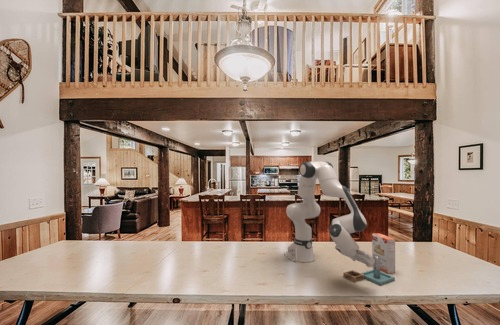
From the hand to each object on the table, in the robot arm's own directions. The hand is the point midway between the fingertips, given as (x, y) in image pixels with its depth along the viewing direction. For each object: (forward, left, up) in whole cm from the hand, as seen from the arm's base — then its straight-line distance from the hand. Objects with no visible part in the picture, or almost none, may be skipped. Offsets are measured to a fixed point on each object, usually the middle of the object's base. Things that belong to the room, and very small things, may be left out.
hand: (361, 262), depth 143 cm
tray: (+1, +12, -11) cm, 17 cm away
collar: (-6, +1, -11) cm, 13 cm away
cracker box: (-6, +28, -11) cm, 31 cm away
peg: (0, +12, -10) cm, 16 cm away
